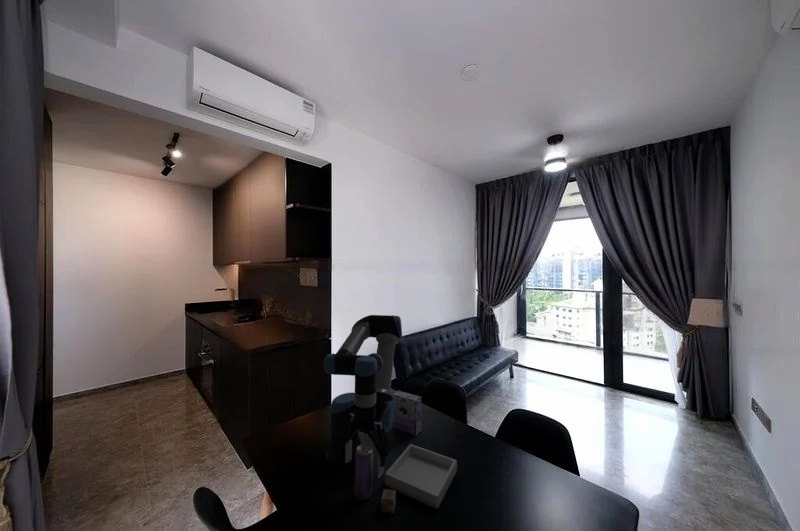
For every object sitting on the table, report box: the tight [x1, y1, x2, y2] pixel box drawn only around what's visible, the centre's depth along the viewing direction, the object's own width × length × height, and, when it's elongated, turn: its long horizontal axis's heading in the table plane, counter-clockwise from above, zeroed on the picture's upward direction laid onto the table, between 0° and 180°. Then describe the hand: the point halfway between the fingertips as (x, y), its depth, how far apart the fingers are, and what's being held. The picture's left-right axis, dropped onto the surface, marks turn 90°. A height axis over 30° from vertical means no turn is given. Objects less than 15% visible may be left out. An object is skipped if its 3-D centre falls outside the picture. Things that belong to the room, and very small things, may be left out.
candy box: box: [391, 390, 422, 437], centre depth 132 cm, size 14×6×16 cm, turn 58°
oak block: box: [380, 488, 397, 514], centre depth 88 cm, size 4×4×4 cm
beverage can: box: [354, 443, 374, 501], centre depth 93 cm, size 6×6×15 cm
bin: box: [384, 443, 458, 511], centre depth 100 cm, size 20×20×4 cm
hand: (363, 467), depth 92 cm, fingers open, 13 cm apart
